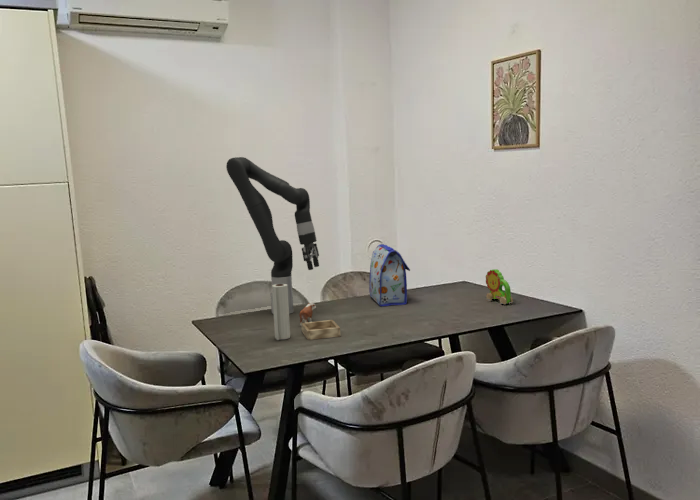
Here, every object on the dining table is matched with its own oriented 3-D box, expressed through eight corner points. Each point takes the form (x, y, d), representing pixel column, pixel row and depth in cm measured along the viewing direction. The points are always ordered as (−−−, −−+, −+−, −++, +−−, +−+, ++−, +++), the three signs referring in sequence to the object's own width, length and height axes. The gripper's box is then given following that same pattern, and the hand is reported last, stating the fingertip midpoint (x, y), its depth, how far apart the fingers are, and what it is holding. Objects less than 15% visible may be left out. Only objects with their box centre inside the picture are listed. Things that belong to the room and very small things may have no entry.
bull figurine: (318, 319, 271) (317, 301, 269) (306, 327, 258) (305, 308, 257) (309, 319, 272) (308, 301, 271) (296, 327, 259) (295, 308, 258)
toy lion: (513, 304, 283) (513, 271, 281) (504, 306, 281) (504, 273, 279) (492, 298, 298) (491, 266, 296) (482, 299, 296) (482, 268, 293)
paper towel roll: (284, 334, 249) (281, 282, 246) (293, 337, 244) (290, 284, 241) (269, 338, 244) (266, 285, 241) (278, 341, 239) (275, 287, 236)
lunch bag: (413, 304, 292) (411, 248, 288) (379, 307, 288) (377, 250, 284) (398, 294, 314) (397, 242, 310) (367, 297, 310) (365, 244, 306)
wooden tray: (307, 340, 240) (307, 331, 240) (301, 331, 252) (301, 323, 252) (340, 336, 243) (340, 327, 243) (332, 328, 256) (332, 319, 255)
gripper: (303, 232, 283) (311, 267, 284) (292, 235, 269) (300, 272, 270) (319, 229, 281) (326, 264, 282) (308, 232, 267) (316, 269, 268)
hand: (313, 268), depth 276 cm, fingers open, 8 cm apart
